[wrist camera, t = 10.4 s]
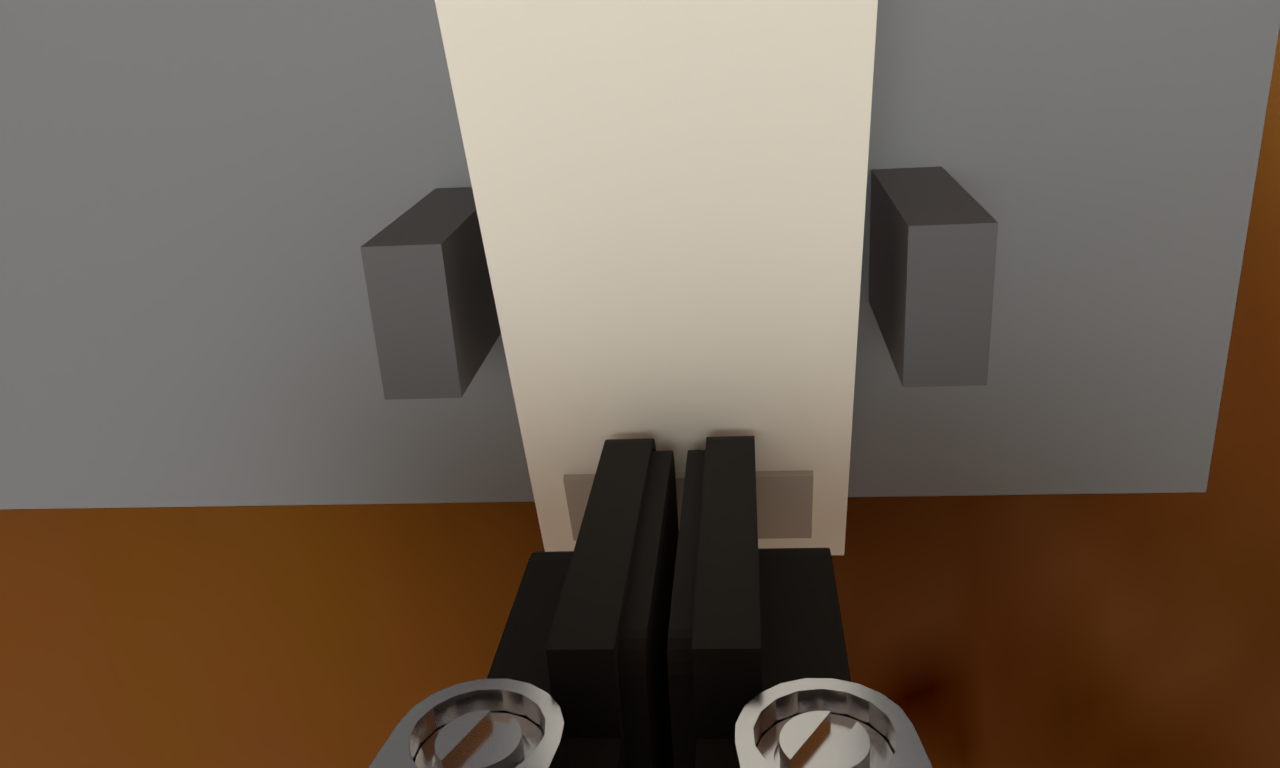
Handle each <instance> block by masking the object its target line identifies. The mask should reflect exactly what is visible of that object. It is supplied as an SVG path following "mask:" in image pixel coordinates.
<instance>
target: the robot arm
mask: <svg viewBox="0 0 1280 768" xmlns="http://www.w3.org/2000/svg"><path fill="white" fill-rule="evenodd" d="M369 768H933V767H932V765H931V763H930V761H929V758H928V756H927V754H926V752H925V750H924V748H923V745H922V743H921V741H920V739H919V737H918V734H917V732H916V730H915V728H914V726H913V724H912V723H911V721H910V720H909V719H908V717H907V716H906V714H905V713H904V711H903V710H902V709H901V708H900V707H899V706H898V705H896V704H895V703H894V702H892V701H891V700H890V699H888V698H887V697H886V696H884V695H883V694H882V693H879V692H877V691H875V690H872V689H870V688H868V687H865V686H863V685H861V684H858V683H853V682H851V679H850V672H849V666H848V659H847V653H846V647H845V640H844V634H843V627H842V621H841V614H840V608H839V602H838V595H837V589H836V582H835V576H834V569H833V563H832V557H831V552H830V548H761V549H758V530H757V498H756V467H755V436H724V437H706V449H705V450H688V452H687V460H686V470H685V479H684V488H683V498H682V507H681V516H680V526H678V510H677V494H676V478H675V463H674V454H673V451H672V450H671V451H656V446H655V441H654V439H653V438H646V439H608V440H605V442H604V446H603V449H602V453H601V456H600V460H599V463H598V467H597V470H596V474H595V477H594V481H593V484H592V488H591V491H590V495H589V499H588V502H587V506H586V509H585V513H584V516H583V520H582V523H581V527H580V530H579V534H578V537H577V541H576V544H575V548H574V551H554V552H534V553H532V555H531V557H530V559H529V561H528V564H527V567H526V570H525V573H524V576H523V578H522V581H521V584H520V587H519V590H518V593H517V595H516V598H515V601H514V604H513V607H512V609H511V612H510V615H509V618H508V621H507V624H506V626H505V629H504V632H503V635H502V638H501V641H500V643H499V646H498V649H497V652H496V655H495V658H494V660H493V663H492V666H491V669H490V672H489V674H488V677H487V679H479V680H474V681H469V682H464V683H459V684H456V685H453V686H451V687H448V688H446V689H444V690H441V691H439V692H436V693H434V694H432V695H431V696H429V697H428V698H426V699H425V700H423V701H422V702H420V703H419V704H417V705H415V706H414V707H413V708H412V709H411V710H410V711H409V712H408V713H407V714H406V715H405V717H404V718H403V719H402V720H401V721H400V722H399V723H398V724H397V726H396V727H395V729H394V730H393V732H392V733H391V735H390V736H389V738H388V739H387V741H386V742H385V744H384V745H383V747H382V748H381V750H380V751H379V753H378V754H377V756H376V757H375V759H374V760H373V762H372V763H371V765H370V766H369Z"/></svg>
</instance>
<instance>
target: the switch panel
mask: <svg viewBox="0 0 1280 768" xmlns="http://www.w3.org/2000/svg"><path fill="white" fill-rule="evenodd" d="M1279 26H1280V0H878V6H877V23H876V39H875V56H874V72H873V89H872V105H871V122H870V138H869V155H868V171H867V188H866V204H865V220H864V237H863V253H862V270H861V286H860V303H859V319H858V336H857V352H856V369H855V385H854V402H853V418H852V435H851V451H850V468H849V484H848V497H901V496H972V495H1042V494H1113V493H1184V492H1206V489H1207V483H1208V477H1209V470H1210V464H1211V458H1212V451H1213V445H1214V439H1215V432H1216V426H1217V420H1218V413H1219V407H1220V401H1221V394H1222V388H1223V382H1224V375H1225V369H1226V363H1227V356H1228V350H1229V344H1230V337H1231V331H1232V325H1233V318H1234V312H1235V306H1236V299H1237V293H1238V286H1239V280H1240V274H1241V267H1242V261H1243V255H1244V248H1245V242H1246V236H1247V229H1248V223H1249V217H1250V210H1251V204H1252V198H1253V191H1254V185H1255V179H1256V172H1257V166H1258V160H1259V153H1260V147H1261V141H1262V134H1263V128H1264V122H1265V115H1266V109H1267V103H1268V96H1269V90H1270V83H1271V77H1272V71H1273V64H1274V58H1275V52H1276V45H1277V39H1278V33H1279ZM477 502H535V500H534V495H533V490H532V485H531V480H530V475H529V470H528V465H527V460H526V455H525V450H524V445H523V440H522V435H521V430H520V425H519V420H518V415H517V410H516V405H515V400H514V395H513V390H512V385H511V380H510V375H509V370H508V365H507V360H506V355H505V350H504V345H503V340H502V335H501V330H500V325H499V320H498V315H497V310H496V305H495V300H494V295H493V290H492V285H491V280H490V275H489V270H488V265H487V260H486V255H485V250H484V245H483V240H482V235H481V230H480V225H479V220H478V215H477V210H476V205H475V200H474V195H473V190H472V185H471V180H470V175H469V170H468V165H467V160H466V155H465V150H464V145H463V140H462V135H461V130H460V125H459V120H458V115H457V110H456V105H455V100H454V95H453V90H452V85H451V80H450V75H449V70H448V65H447V60H446V55H445V50H444V45H443V40H442V35H441V30H440V25H439V20H438V15H437V10H436V5H435V0H0V509H53V508H124V507H195V506H265V505H336V504H407V503H477Z"/></svg>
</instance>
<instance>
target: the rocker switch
mask: <svg viewBox="0 0 1280 768" xmlns="http://www.w3.org/2000/svg"><path fill="white" fill-rule="evenodd" d="M435 5H436V10H437V15H438V20H439V25H440V30H441V35H442V40H443V45H444V50H445V55H446V60H447V65H448V70H449V75H450V80H451V85H452V90H453V95H454V100H455V105H456V110H457V115H458V120H459V125H460V130H461V135H462V140H463V145H464V150H465V155H466V160H467V165H468V170H469V175H470V180H471V185H472V190H473V195H474V200H475V205H476V210H477V215H478V220H479V225H480V230H481V235H482V240H483V245H484V250H485V255H486V260H487V265H488V270H489V275H490V280H491V285H492V290H493V295H494V300H495V305H496V310H497V315H498V320H499V325H500V330H501V335H502V340H503V345H504V350H505V355H506V360H507V365H508V370H509V375H510V380H511V385H512V390H513V395H514V400H515V405H516V410H517V415H518V420H519V425H520V430H521V435H522V440H523V445H524V450H525V455H526V460H527V465H528V470H529V475H530V480H531V485H532V490H533V495H534V500H535V505H536V510H537V515H538V520H539V525H540V530H541V535H542V540H543V545H544V550H545V552H554V551H574V548H575V544H576V541H577V537H578V534H579V530H580V527H581V523H582V520H583V516H584V513H585V509H586V506H587V502H588V499H589V495H590V491H591V488H592V484H593V481H594V477H595V474H596V470H597V467H598V463H599V460H600V456H601V453H602V449H603V446H604V442H605V440H608V439H646V438H653V439H654V441H655V446H656V451H671V450H672V451H673V454H674V463H675V478H676V494H677V510H678V526H680V516H681V507H682V498H683V488H684V479H685V470H686V460H687V452H688V450H705V449H706V437H724V436H755V467H756V498H757V530H758V549H761V548H830V552H831V555H844V550H845V534H846V517H847V501H848V484H849V468H850V451H851V435H852V418H853V402H854V385H855V369H856V352H857V336H858V319H859V303H860V286H861V270H862V253H863V237H864V220H865V204H866V188H867V171H868V155H869V138H870V122H871V105H872V89H873V72H874V56H875V39H876V23H877V6H878V0H435Z"/></svg>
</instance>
